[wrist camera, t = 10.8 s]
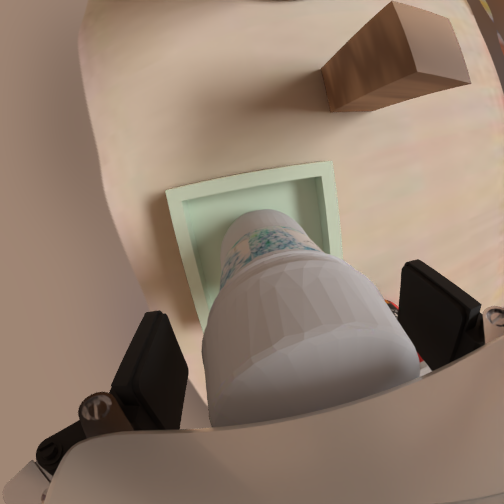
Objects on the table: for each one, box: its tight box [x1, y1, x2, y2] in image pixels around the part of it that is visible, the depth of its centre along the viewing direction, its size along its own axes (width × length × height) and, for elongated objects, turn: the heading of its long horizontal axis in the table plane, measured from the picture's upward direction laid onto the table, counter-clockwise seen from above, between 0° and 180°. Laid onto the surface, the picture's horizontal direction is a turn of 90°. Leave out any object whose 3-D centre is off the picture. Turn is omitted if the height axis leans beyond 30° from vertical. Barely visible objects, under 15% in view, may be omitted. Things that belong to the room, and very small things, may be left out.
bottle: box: [202, 209, 420, 427], centre depth 12 cm, size 7×7×20 cm
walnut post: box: [321, 1, 471, 112], centre depth 13 cm, size 4×4×12 cm
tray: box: [165, 161, 343, 334], centre depth 21 cm, size 12×12×2 cm
